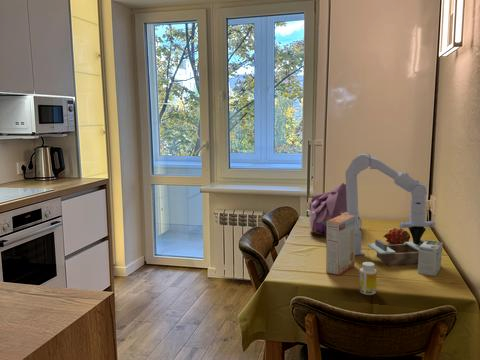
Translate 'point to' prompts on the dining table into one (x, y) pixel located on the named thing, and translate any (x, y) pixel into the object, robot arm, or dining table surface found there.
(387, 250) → the lid left
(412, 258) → the walnut box
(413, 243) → the lid right
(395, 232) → the dragon fruit
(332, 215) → the purple cloth
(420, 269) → the light bulb box
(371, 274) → the supplement bottle
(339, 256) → the cracker box
